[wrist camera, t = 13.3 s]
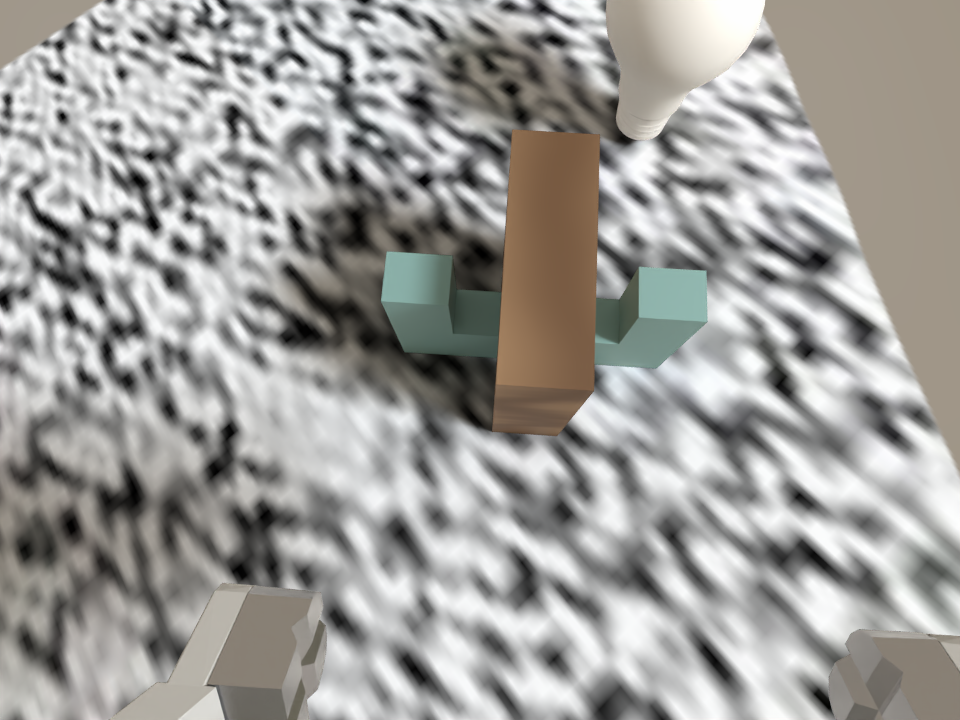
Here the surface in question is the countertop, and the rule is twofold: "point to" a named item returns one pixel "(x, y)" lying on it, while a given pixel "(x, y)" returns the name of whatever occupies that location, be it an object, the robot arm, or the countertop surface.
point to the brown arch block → (548, 282)
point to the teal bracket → (476, 314)
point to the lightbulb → (673, 53)
